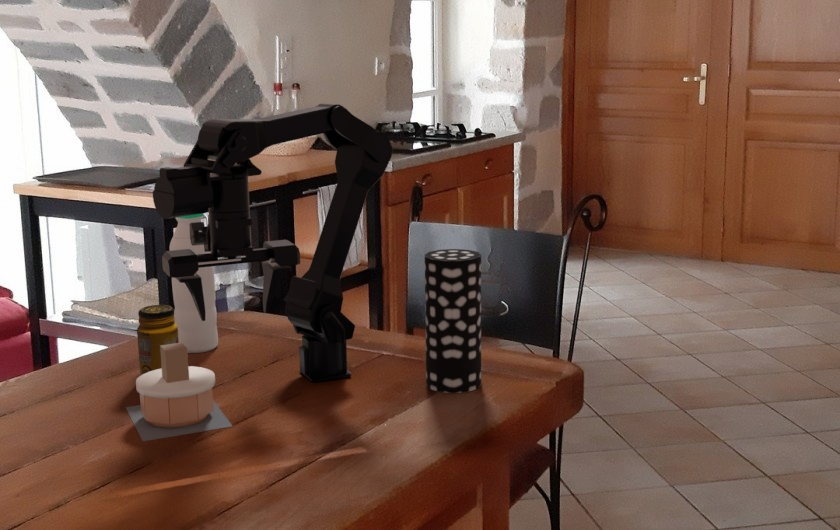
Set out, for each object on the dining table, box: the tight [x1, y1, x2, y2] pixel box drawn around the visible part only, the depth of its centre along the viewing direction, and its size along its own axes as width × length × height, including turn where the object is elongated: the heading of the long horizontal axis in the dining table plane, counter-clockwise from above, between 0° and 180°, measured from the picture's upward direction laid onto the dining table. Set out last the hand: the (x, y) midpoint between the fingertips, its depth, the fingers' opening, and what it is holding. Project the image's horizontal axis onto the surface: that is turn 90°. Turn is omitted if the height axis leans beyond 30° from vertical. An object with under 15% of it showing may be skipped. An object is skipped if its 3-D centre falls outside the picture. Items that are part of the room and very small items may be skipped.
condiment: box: [136, 304, 179, 377], centre depth 163 cm, size 7×8×12 cm
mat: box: [125, 400, 234, 442], centre depth 149 cm, size 12×14×1 cm
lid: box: [135, 343, 216, 398], centre depth 147 cm, size 11×11×6 cm
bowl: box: [139, 387, 214, 428], centre depth 148 cm, size 9×9×5 cm
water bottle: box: [169, 213, 219, 354], centre depth 179 cm, size 7×7×25 cm
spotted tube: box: [424, 248, 482, 394], centre depth 160 cm, size 8×8×20 cm
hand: (234, 316), depth 154 cm, fingers open, 9 cm apart
